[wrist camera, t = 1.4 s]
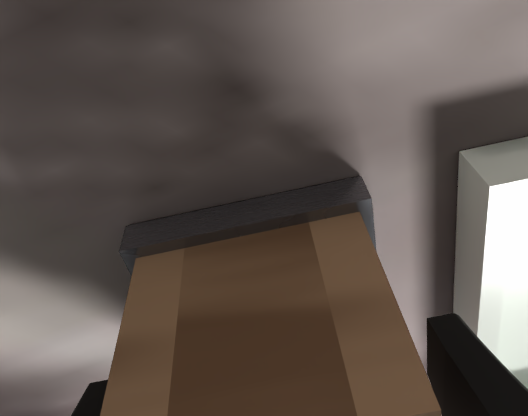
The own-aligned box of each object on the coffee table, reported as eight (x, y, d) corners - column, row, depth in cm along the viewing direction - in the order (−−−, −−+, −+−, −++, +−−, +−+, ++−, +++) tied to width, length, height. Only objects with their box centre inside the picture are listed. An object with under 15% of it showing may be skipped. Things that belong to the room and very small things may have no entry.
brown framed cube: (375, 355, 14) (438, 551, 10) (199, 389, 14) (190, 591, 10) (359, 211, 11) (440, 410, 7) (135, 258, 11) (87, 474, 7)
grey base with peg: (377, 333, 15) (435, 503, 11) (194, 368, 15) (183, 546, 11) (361, 175, 12) (436, 338, 8) (125, 225, 12) (76, 407, 8)
